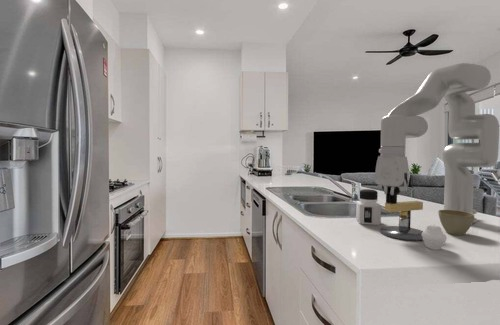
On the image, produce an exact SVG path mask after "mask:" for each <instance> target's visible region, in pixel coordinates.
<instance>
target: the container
mask: <svg viewBox="0 0 500 325" xmlns="http://www.w3.org/2000/svg"><path fill="white" fill-rule="evenodd" d="M355 203H356V210H355V211H356V212H355V213H356V214H355V219H356V221H357V222H358V223H359V224H360V225H373V226H374V225H375V226H381V224H382V221H381V220H382V216H381V215H382V205H381V204H380V203H378V191H377V190H376V189H370V188H364V189H360V190H359V200H357V201H355Z"/></svg>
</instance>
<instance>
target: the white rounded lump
mask: <svg viewBox="0 0 500 325" xmlns="http://www.w3.org/2000/svg"><path fill="white" fill-rule="evenodd" d="M422 231H423V232H422V237H423V238H422V239H423V243H424V244H425V246H426V248H427V249H429V250H432V251H433V250H434V251H440V250H441V249H442V247H443V246H444V245H445V243H446V241H447V235H446V234H445V233H444V232H443V231H442V228H441V227H440V226H439V225H437V224H428V225H427V226H426V229H424V230H422Z"/></svg>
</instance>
